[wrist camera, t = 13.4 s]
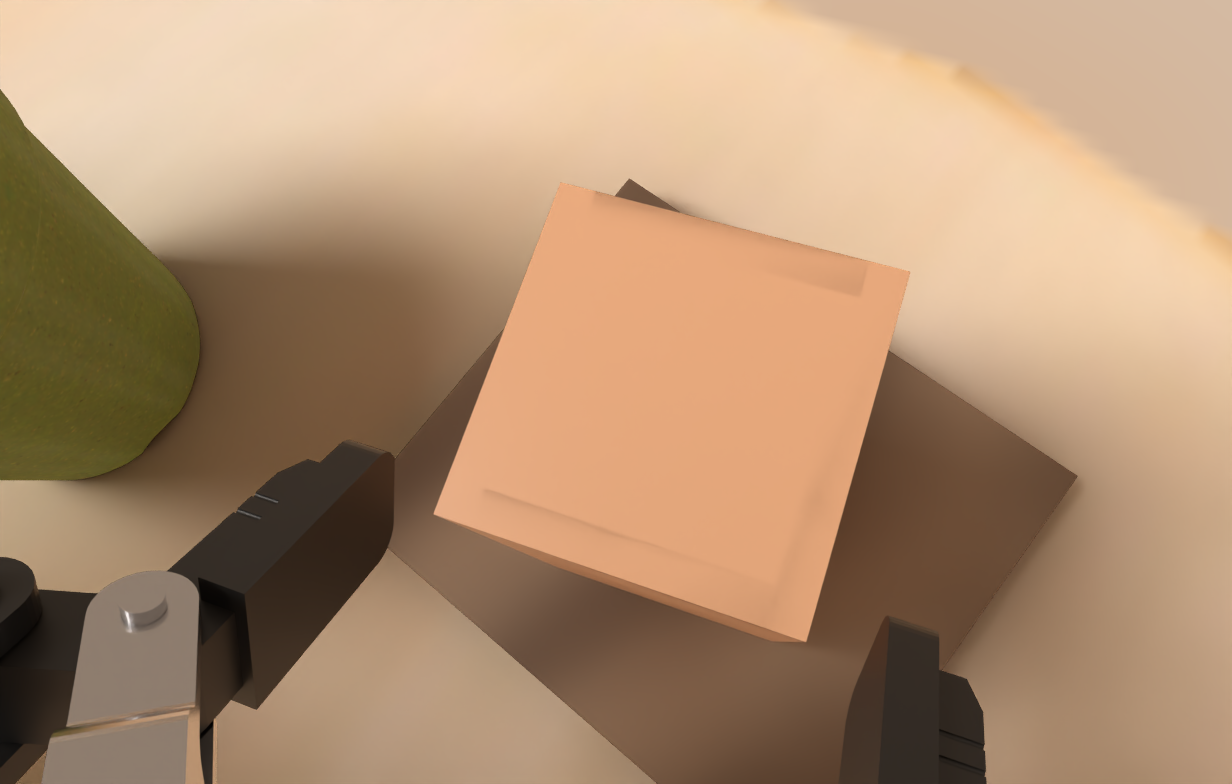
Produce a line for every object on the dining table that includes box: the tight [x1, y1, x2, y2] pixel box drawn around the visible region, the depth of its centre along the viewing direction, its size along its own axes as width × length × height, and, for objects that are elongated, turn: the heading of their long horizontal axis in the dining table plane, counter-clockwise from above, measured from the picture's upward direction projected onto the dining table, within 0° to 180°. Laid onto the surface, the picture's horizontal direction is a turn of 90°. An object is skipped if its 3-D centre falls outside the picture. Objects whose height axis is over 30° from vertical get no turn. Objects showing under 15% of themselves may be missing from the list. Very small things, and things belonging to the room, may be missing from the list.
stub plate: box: [387, 179, 1078, 784], centre depth 21 cm, size 14×12×6 cm
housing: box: [434, 183, 910, 642], centre depth 18 cm, size 6×6×10 cm
